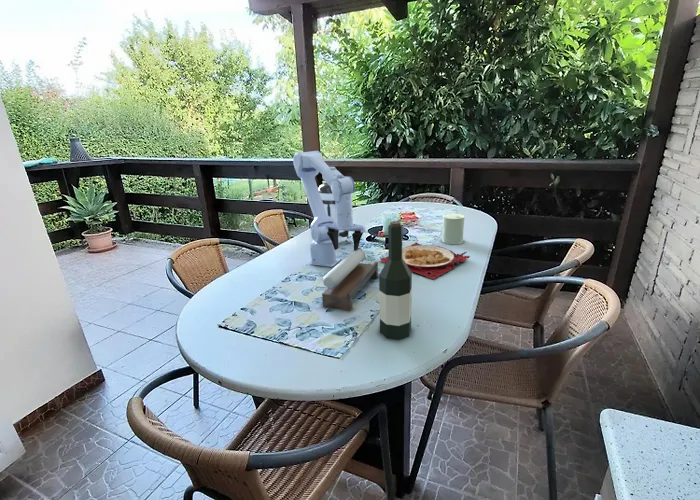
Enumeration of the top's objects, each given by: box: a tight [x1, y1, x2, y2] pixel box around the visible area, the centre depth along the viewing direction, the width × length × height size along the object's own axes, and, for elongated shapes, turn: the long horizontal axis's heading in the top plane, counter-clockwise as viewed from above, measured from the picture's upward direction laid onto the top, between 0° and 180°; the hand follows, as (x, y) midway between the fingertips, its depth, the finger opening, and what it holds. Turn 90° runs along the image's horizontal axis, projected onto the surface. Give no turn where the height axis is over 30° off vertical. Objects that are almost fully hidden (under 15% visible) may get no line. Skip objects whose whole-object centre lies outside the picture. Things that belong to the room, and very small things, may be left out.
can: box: [441, 212, 466, 245], centre depth 161 cm, size 9×9×12 cm
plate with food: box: [379, 242, 471, 280], centre depth 142 cm, size 24×26×4 cm
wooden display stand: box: [321, 261, 379, 312], centre depth 120 cm, size 9×26×6 cm, turn 157°
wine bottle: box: [378, 220, 413, 341], centre depth 92 cm, size 8×8×30 cm
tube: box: [322, 247, 367, 289], centre depth 120 cm, size 5×5×25 cm
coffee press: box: [318, 182, 352, 244], centre depth 162 cm, size 17×16×30 cm
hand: (346, 249), depth 131 cm, fingers open, 7 cm apart
